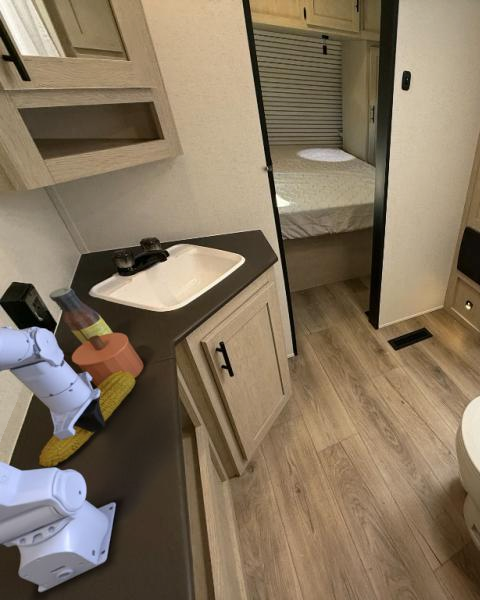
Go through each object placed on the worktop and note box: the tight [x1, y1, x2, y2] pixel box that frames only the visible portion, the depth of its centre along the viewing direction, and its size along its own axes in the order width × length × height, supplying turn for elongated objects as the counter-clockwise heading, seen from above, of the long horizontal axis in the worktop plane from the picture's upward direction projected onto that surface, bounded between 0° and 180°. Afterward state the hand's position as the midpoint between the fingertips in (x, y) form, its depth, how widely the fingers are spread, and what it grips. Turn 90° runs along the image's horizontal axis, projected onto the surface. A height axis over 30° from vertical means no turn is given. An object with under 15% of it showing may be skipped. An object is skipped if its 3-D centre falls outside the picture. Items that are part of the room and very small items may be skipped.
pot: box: [77, 341, 144, 388], centre depth 77 cm, size 10×10×8 cm
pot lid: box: [71, 332, 130, 366], centre depth 74 cm, size 10×10×4 cm
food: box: [39, 371, 136, 468], centre depth 67 cm, size 21×6×6 cm, turn 179°
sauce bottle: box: [49, 286, 114, 345], centre depth 80 cm, size 6×6×20 cm
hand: (98, 427), depth 65 cm, fingers closed
